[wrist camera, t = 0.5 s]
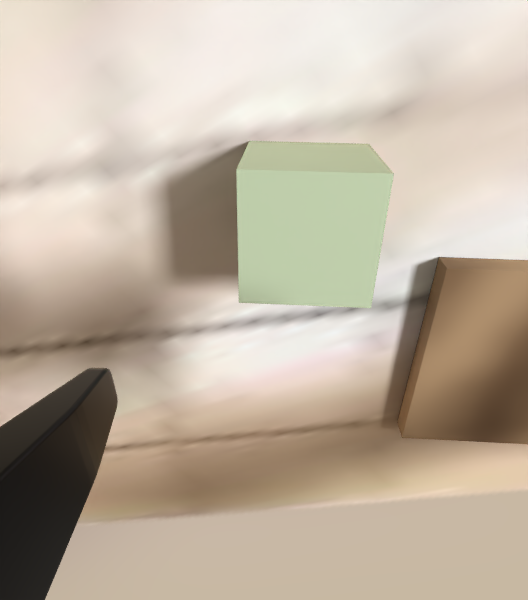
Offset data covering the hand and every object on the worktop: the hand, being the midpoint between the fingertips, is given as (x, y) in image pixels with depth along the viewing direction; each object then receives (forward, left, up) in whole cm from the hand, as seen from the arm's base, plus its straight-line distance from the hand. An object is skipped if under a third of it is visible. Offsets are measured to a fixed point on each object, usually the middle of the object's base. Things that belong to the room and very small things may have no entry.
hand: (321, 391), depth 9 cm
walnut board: (-12, +8, -12) cm, 19 cm away
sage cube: (0, 0, -12) cm, 12 cm away
